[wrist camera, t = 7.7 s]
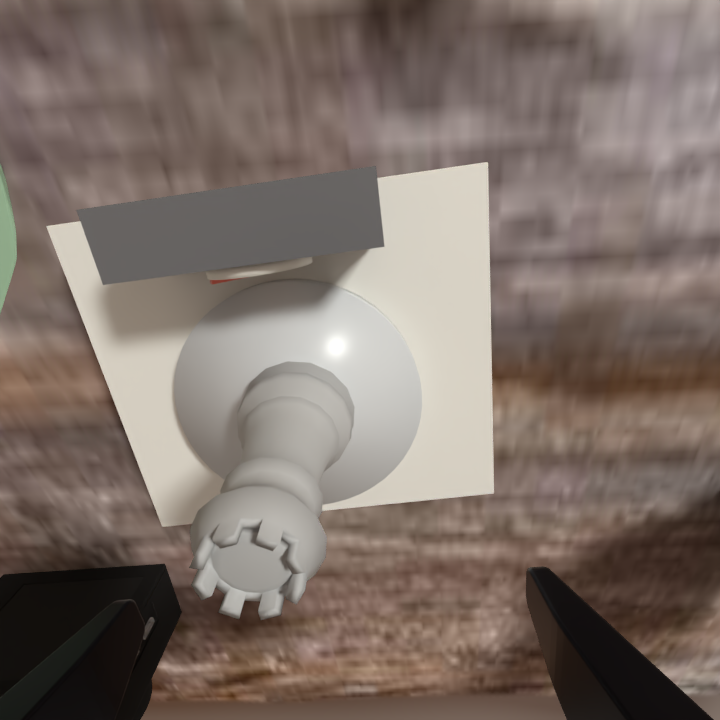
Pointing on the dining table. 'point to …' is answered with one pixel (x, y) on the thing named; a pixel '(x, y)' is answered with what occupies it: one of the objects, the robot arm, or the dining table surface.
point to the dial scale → (297, 325)
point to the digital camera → (84, 620)
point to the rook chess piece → (273, 491)
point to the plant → (6, 239)
